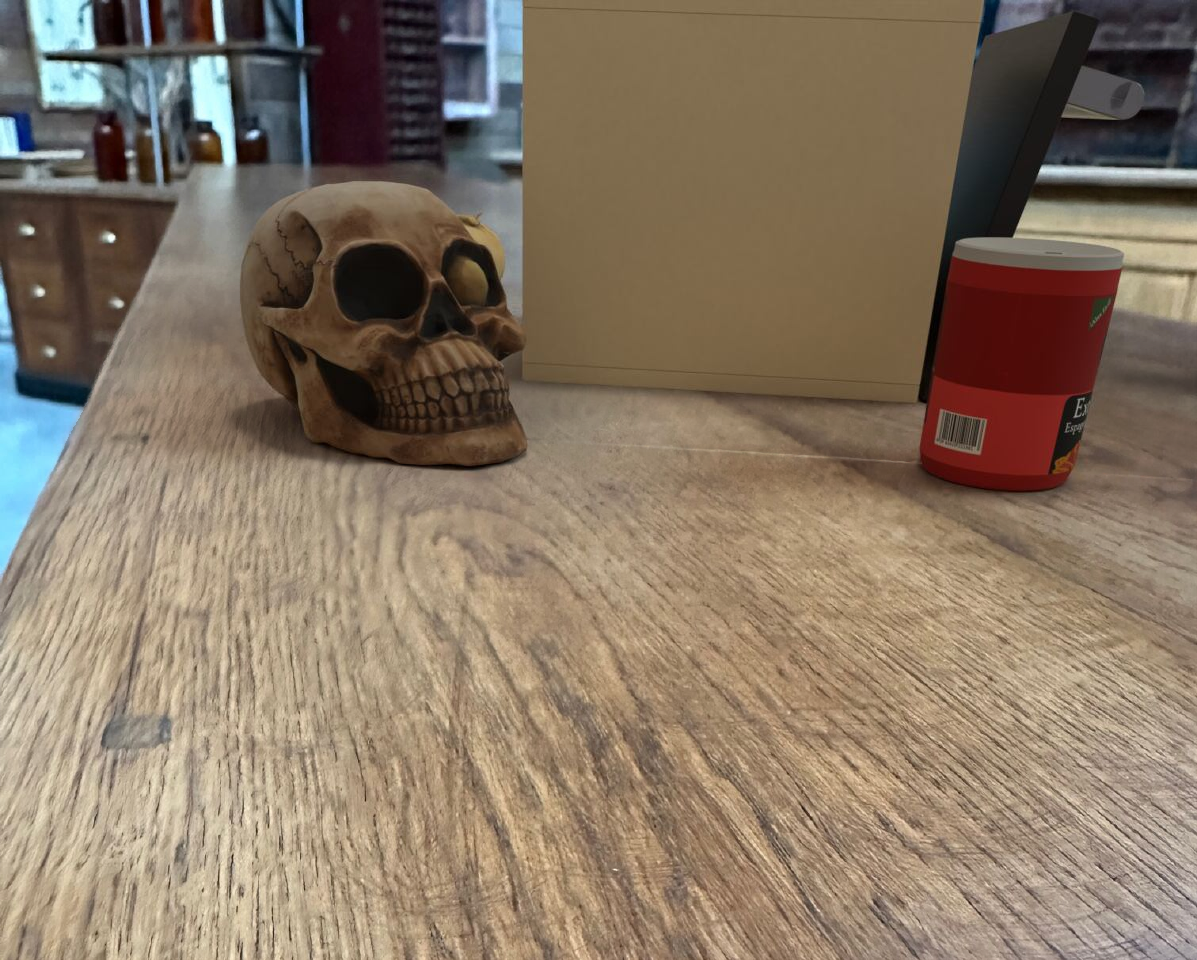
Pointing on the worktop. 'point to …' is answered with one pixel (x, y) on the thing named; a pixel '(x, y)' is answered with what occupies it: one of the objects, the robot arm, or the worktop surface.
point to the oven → (739, 190)
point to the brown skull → (383, 324)
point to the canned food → (1017, 360)
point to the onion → (485, 239)
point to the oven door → (1020, 130)
